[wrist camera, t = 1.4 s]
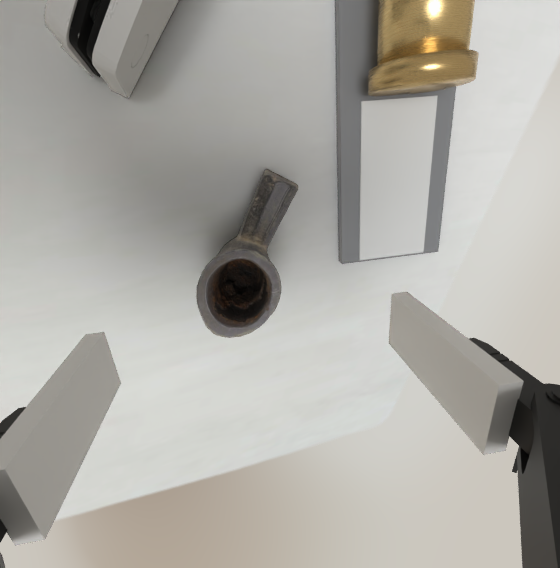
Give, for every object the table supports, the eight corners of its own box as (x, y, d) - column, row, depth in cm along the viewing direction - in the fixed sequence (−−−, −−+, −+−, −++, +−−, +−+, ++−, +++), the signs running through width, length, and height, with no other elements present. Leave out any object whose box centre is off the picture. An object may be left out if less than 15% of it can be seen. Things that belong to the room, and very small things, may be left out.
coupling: (354, -15, 24) (402, -81, 17) (445, -18, 25) (525, -83, 18) (354, 99, 27) (395, 80, 20) (435, 93, 27) (501, 72, 21)
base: (334, -20, 24) (340, -29, 23) (459, -25, 25) (470, -33, 24) (338, 260, 32) (342, 264, 31) (432, 248, 33) (439, 252, 32)
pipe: (305, 187, 29) (330, 198, 22) (250, 306, 33) (256, 349, 25) (243, 157, 27) (247, 158, 20) (192, 286, 31) (180, 326, 24)
